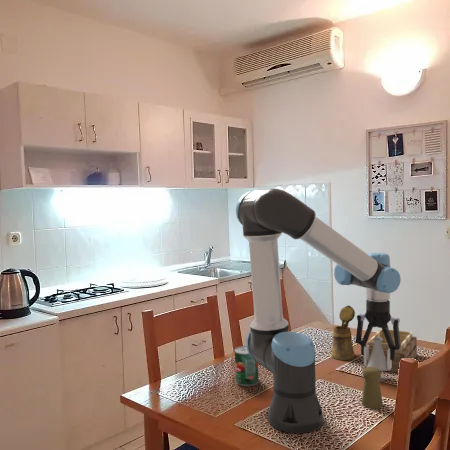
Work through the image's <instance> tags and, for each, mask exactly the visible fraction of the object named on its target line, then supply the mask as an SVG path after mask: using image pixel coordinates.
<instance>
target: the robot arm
mask: <svg viewBox="0 0 450 450" xmlns="http://www.w3.org/2000/svg"><path fill="white" fill-rule="evenodd" d="M235 216H236V218H237V221H238V222H239V223H240V224H241V226H242V235H243V237H244V238H245V239H246V240H247V242H248V248H249V258H250V259H249V261H250V273H251V274H250V275H251V286H252V287H251V288H252V289H251V290H252V300H253V315H254V319H252V322H251V323H250V325H249V328H250V329H249V333H248V334H247V336H246V338H245V339H246V340H245V341H246V342H245V346H246V347H247V351H248V353H249V355H250V356H251V357H252V358H253V360H254V361H255V362H257V363H258V365H259V366H262V367H263V368H264V369H266V370H267V371H269V372H270V373H271V374H272V377H273V378H272V380H273V394H272V397H271V402H270V404H269V408H268V411H267V415H268V416H267V419H268V423H269V424H270V425H271V426H272V427H273V428H275V429H277V430H279V431H281V432H286V433H289V434H290V433H292V434H304V433H311V432H314V431H317V430H318V429H319V428H321V427H322V426H323V423H324V412H323V409H322V406H321V404H320V401H319V399H318V398H319V397H318V395H317V388H316V387H317V386H316V385H317V384H316V355H317V354H316V351H315V349H316V348H315V343H314V341H313V339H312V338H311V337H310V336H308V335H306V334H304V333H301V332H296V331H290V330H289V327H290V326H289V321H288V320H287V319H286V318H284V315H283V303H282V301H283V299H282V287H281V271H280V258H279V244H278V239H279V238H280V237H281V236H282V234H285V235H287V236H289V237H290V238H291V239H294V240H301V241H303V242H304V243H305V244H306V245H309V246H310V247H311V248H312V249H315V250H316V251H317V252H319V253H320V254H322V255H323V256H324V257H326V258H328V259H329V260H330V261H332V262H333V263H334V264H336V265H335V267H334V270H333V272H334V273H333V276H334V279H335V281H336V282H337V284H339V285H341V286H350V285H355V286H358V287H361V288H362V287H363V288H366V289H365V292H366V293H365V297H366V300H365V304H366V305H365V307H366V308H365V310H366V311H365V313H364V314H363V313H359V314H358V315H356V319H357V324H356V325H357V326H356V335H355V343H356V344H358V345H360V353H361V356H363V367H364V366H367V364H368V356H369V345H367V344H368V341H369V339H370V335H371V333H372V330H373V328H379V329H382V331H383V332H384V335H385V338H386V340H387V343H388V346H389V349H388V351H387V370H390V369H391V368H392V360H394V358H395V350H399V349H400V347H401V343H400V334H399V331H400V328H399V327H400V326H399V325H400V322H401V320H400V318H398V317H397V318H395V317H392V315H391V313H390V312H391V301H390V299H391V298H390V297H391V293H394V292H396V291H397V290H398V288H399V287H400V284H401V281H402V280H401V279H402V278H401V275H400V273H399V271H398V270H397V269H396V268H393V267H391V258H390V255H389V254H387V253H385V252H370V253H366V252H365V251H363V249H361V248H359V247H358V246H357V245H355V244H354V243H353V242H352V241H350V240H349V239H347V238H346V237H345V236H343V235H342V234H340V233H339V232H338V231H336V230H335V229H333V228H332V227H331V226H330V225H328V224H327V223H325V222H324V221H323V220H321V219H320V218H318V217H317V214H316V212H315V210H314V209H312V208H311V207H310V206H308V205H307V204H306V203H304V202H303V201H301V200H300V199H299V198H297V197H296V196H294V195H292V194H291V193H290V192H288V191H286V190H283V189H280V188H267V189H266V188H265V189H258V188H257V189H253V190H250V191H248V192H247V191H246V192H245V193H244V194H243V195H241V196H240V198H239V200H238V201H237V204H236V207H235ZM365 320H366V321H367V322H368V324H367V326H366V327H367V328H366V331H365V332H364V336H363V328H364V321H365ZM389 322H391V324H392V330H393V332H394V340H395V345H394V342H393V340H392V337H391V334H390V331H389V330H390V329H389V328H390V327H389V325H388V324H389ZM362 337H363V338H362Z"/></svg>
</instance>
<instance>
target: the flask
mask: <svg viewBox="0 0 450 450" xmlns="http://www.w3.org/2000/svg"><path fill="white" fill-rule="evenodd" d="M373 340H374V346H373V350H372V353H371V356H370V359H369V361H368V364H367V366H366V367H376V368H378V369H379V370H380V372H387V361H386V358H385V355H384V352H383V348H382V341H383V339H382V338H373ZM366 367H365V368H366Z"/></svg>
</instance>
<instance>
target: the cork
mask: <svg viewBox="0 0 450 450" xmlns="http://www.w3.org/2000/svg"><path fill="white" fill-rule="evenodd" d="M362 376H363V377H362V378H363V379H364V380H363V381H364V382H363V389H362V390H363V391H362V397H361V398H362V399H361V405H362V406H363V407H364V408H366V409H369V410H380V409H382V408H383V407H384V403H383V397H382V391H381V390H382V389H381V385H380V379H381V377H382V371H380V370H379V369H378V368H376V367H364V368H363V370H362Z"/></svg>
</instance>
